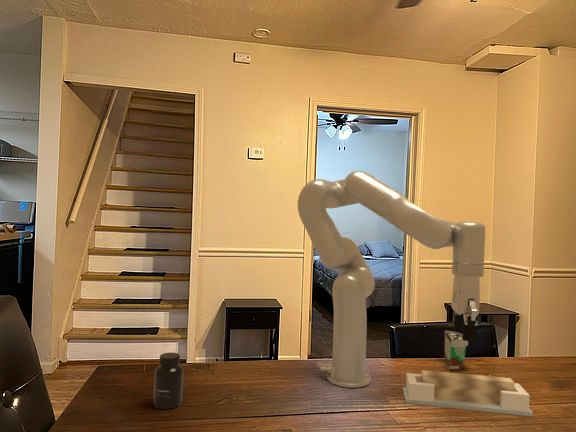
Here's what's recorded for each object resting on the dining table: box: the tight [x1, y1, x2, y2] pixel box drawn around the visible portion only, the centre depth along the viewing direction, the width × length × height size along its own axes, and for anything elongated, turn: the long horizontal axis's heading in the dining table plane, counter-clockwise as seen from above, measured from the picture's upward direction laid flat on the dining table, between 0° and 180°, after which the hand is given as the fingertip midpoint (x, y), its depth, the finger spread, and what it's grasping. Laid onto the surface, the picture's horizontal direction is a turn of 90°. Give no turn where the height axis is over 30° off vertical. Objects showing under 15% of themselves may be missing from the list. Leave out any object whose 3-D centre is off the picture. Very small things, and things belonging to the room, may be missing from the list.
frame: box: [402, 372, 534, 418], centre depth 109 cm, size 30×8×5 cm, turn 79°
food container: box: [444, 330, 469, 372], centre depth 135 cm, size 12×6×10 cm, turn 168°
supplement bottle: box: [153, 352, 184, 410], centre depth 103 cm, size 7×7×12 cm
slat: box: [420, 369, 515, 405], centre depth 108 cm, size 22×3×6 cm, turn 80°
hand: (464, 335), depth 109 cm, fingers open, 9 cm apart
